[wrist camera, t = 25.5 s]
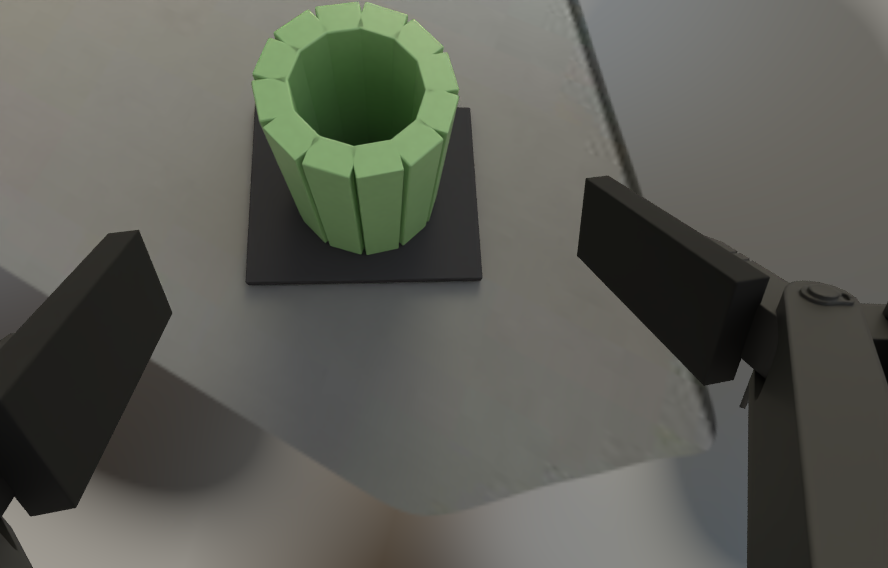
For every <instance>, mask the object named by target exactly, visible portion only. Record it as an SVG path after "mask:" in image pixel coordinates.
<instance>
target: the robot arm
mask: <svg viewBox="0 0 888 568" xmlns="http://www.w3.org/2000/svg"><path fill="white" fill-rule="evenodd" d="M577 256H578V257H579V258H580V259H581V260H582V261H583V262H584V263H585V264H586V265H587V266H588V267H589V268H590V269H591V270H592V271H593V272H594V273H595V275H596V276H597V277H598V278H599V279H600V280H601V281H602V282H603V283H604V284H605V285H606V286H607V287H608V288H609V289H610V290H611V291H612V292H613V293H614V294H615V295H616V296H617V297H618V298H619V299H620V300H621V301H622V302H623V303H624V304H625V305H626V306H627V307H628V308H629V309H630V310H631V311H632V312H633V313H634V314H635V315H636V316H637V318H638V319H639V320H640V321H641V322H642V323H643V324H644V325H645V326H646V327H647V328H648V329H649V330H650V331H651V332H652V333H653V334H654V335H655V336H656V337H657V338H658V339H659V340H660V341H661V342H662V343H663V344H664V345H665V346H666V347H667V348H668V349H669V350H670V351H671V352H672V353H673V354H674V355H675V356H676V357H677V358H678V359H679V361H680V362H681V363H682V364H683V365H684V366H685V367H686V368H687V369H688V370H689V371H690V372H691V373H692V374H693V375H694V376H695V377H696V378H697V379H698V380H699V381H700V382H701V383H702V384H703V385H704V386H705V385H709V384H715V383H720V382H725V381H730V380H734V377H735V375H736V372H737V369H738V366H739V363H740V361H741V358H742V359H743V360H744V361H745V362H746V363H747V364H749V365H750V366H751V367H752V368H753V369H754V370H753V373H752V375H751V378H750V380H749V383H748V386H747V388H746V391H745V394H744V396H743V399H742V402H741V404H740V407H741V408H744V409H745V407H746V405H747V403H749V412H748V413H749V414H748V416H749V417H748V528H747V529H748V531H747V568H888V303H887V304H862V303H859V301H858V300H857V299H856V297H854V296H853V295H851V294H850V293H848V292H847V291H845V290H842V289H840V288H837V287H835V286H832V285H828V284H824V283H820V282H813V281H796V282H791V283H788V282H787V281H785V280H784V279H782V278H780V277H779V276H777V275H775V274H774V273H772V272H770V271H769V270H767V269H765V268H764V267H762V266H761V265H759V264H757V263H756V262H754V261H750V260H749V258H748V257H746V256H744V255H743V254H741V253H737V251H736V250H734V249H732V248H731V247H730V246H728V245H726V244H725V243H723V242H721V241H718V240H715V239H713V238H710V237H707V236H704V235H702V234H701V233H699V232H697V231H696V230H694V229H693V228H691V227H689V226H688V225H686V224H684V223H683V222H681V221H680V220H678V219H677V218H675V217H673V216H672V215H670V214H669V213H667V212H665V211H664V210H662V209H661V208H659V207H657V206H655V205H654V204H653V203H651V202H649V201H648V200H646V199H645V198H643V197H641V196H640V195H638V194H637V193H635V192H633V191H632V190H630V189H629V188H627V187H626V186H624V185H622V184H621V183H619V182H618V181H616V180H614V179H613V178H611V177H610V176H602V177H593V178H586V181H585V190H584V199H583V208H582V217H581V225H580V234H579V243H578V252H577ZM171 315H172V311H171V308H170V306H169V303H168V301H167V298H166V296H165V293H164V291H163V288H162V286H161V284H160V281H159V279H158V276H157V274H156V271H155V269H154V266H153V264H152V261H151V259H150V256H149V254H148V251H147V249H146V247H145V244H144V242H143V239H142V237H141V234H140V232H139V230H134V231H126V232H117V233H108V234H107V236H106V237H105V238H104V239H103V240H102V241H101V242H100V243H99V244H98V245H97V246H96V247H95V248H94V249H93V250H92V252H91V253H90V254H89V255H88V256H87V257H86V258H85V259H84V260H83V261H82V262H81V263H80V264H79V265H78V266H77V268H76V269H75V270H74V271H73V272H72V273H71V274H70V275H69V276H68V277H67V278H66V279H65V280H64V281H63V282H62V284H61V285H60V286H59V287H58V288H57V289H56V290H55V291H54V292H53V293H52V294H51V295H50V296H49V297H48V298H47V300H46V301H45V302H44V303H43V304H42V305H41V306H40V307H39V308H38V309H37V310H36V311H35V312H34V313H33V314H32V316H31V317H30V318H29V319H28V320H27V321H26V322H25V323H24V324H23V325H22V327H20V328H19V329H18V330H17V332H16V333H12V334H9V335H8V336H6V337H5V338H3V339H1V340H0V568H33V567H32V565H31V563H30V561H29V559H28V558H27V556H26V554H25V552H24V550H23V548H22V546H21V544H20V542H19V541H18V539H17V537H16V535H15V533H14V531H13V529H12V528H11V526H10V525H9V524H8V523H7V522H6V520H5V519H4V518H3V517H2V515H3V513H4V512H5V510H6V509H7V507H8V505H9V504H10V502H11V501H12V499H13V497H15V498H16V499H17V500H18V501H19V503H20V504H21V505H22V507H24V509H25V510H26V511H27V513H28V514H29V515H30V516H36V515H41V514H46V513H52V512H57V511H62V510H67V509H72V508H76V507H77V505H78V503H79V501H80V499H81V497H82V495H83V493H84V491H85V489H86V486H87V484H88V483H89V481H90V479H91V477H92V474H93V473H94V470H95V468H96V466H97V464H98V462H99V460H100V458H101V456H102V454H103V452H104V450H105V448H106V446H107V444H108V442H109V440H110V438H111V436H112V434H113V432H114V430H115V428H116V426H117V424H118V422H119V420H120V418H121V416H122V414H123V412H124V410H125V408H126V406H127V404H128V402H129V400H130V398H131V396H132V393H133V392H134V389H135V388H136V386H137V383H138V382H139V380H140V378H141V376H142V373H143V371H144V369H145V367H146V365H147V363H148V361H149V359H150V357H151V355H152V353H153V351H154V349H155V347H156V345H157V343H158V341H159V339H160V337H161V335H162V333H163V331H164V329H165V327H166V325H167V323H168V321H169V319H170V317H171Z"/></svg>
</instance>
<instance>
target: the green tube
mask: <svg viewBox="0 0 888 568" xmlns="http://www.w3.org/2000/svg"><path fill="white" fill-rule="evenodd" d="M315 12H316V16H315V15H314V14H313V13H312V12H311V11H310V10H306V11H305V12H303V13H302V14H300V15H299V16H297V17H296V18H294V19H293V20H291V21H290V22H288V23H287V24H285V25H284V26H282V27H281V28H279V29H278V30H276V31H275V32H274V36H275V39H272V38H269V39H268V40H267V43H266V45H265V47H264V49H263V51H262V54H261V56H260V58H259V60H258V62H257V65H256V67H255V69H254V71H253V77H254V81H252V83H251V84H252V89H253V94H254V99H255V104H256V109H257V114H258V119H259V122H260V125H261V127H262V129H263V131H264V134H265V136H266V138H267V140H268V143H269V145H270V147H271V149H272V152H273V154H274V156H275V158H276V161H277V163H278V165H279V167H280V170H281V172H282V174H283V176H284V179H285V181H286V183H287V186H288V188H289V190H290V192H291V195H292V197H293V199H294V201H295V204H296V206H297V208H298V210H299V213H300V215H301V216H302V218H303V221H304V222H305V223H306V224H307V225H308V226H309V227H310V228H311V229H312V230H313V231H314V232H315V233H316V234H317V235H318V236H319V237H320V238H321V239H322V240H323V241H324V242H325V243H326V242H327V241H329V244H330V246H333V247H336V248H340V249H343V250H346V251H350V252H353V253H357V254H362V252H363V249H364V247H365V251H366V255H370V254H375V253H379V252H384V251H389V250H393V249H398V248H399V242H400V243H401V244H402V245H405V244H406V243H407V242H408V241H409V240H410V239H412V238H413V237H414V236H415V235H416V234H417V233H418V232H419V231H421V230H422V229H423V228H424V227H425V226H426V222H427V221H429V219H430V216H431V213H432V209H433V206H434V203H435V199H436V196H437V192H438V188H439V183H440V179H441V174H442V170H443V166H444V161H445V157H446V153H447V148H448V144H449V139H450V135H451V131H452V126H453V122H454V118H455V113H456V109H457V104H458V100H459V96H458V92H459V88H458V84H457V81H456V78H455V75H454V72H453V68H452V65H451V62H450V59H449V55H448V53H447V52H446V53H443V49H444V47H443V46H442V45H441V44H440V43H439V42H438V41H437V40H436V39H435V38H434V37H433V36H432V35H431V34H430V33H429V32H427V31H426V30H425V29H424V28H423V27H422V26H421V25H420V24H419V23H418V22H417V21H416V20H415V19H412V20H411V21H410V22H408V23H407V20H408V15H406V14H403V13H400V12H397V11H394V10H390V9H387V8H384V7H381V6H378V5H374V4H371V3H368V2H365V5H364V7H363V10H362V11H361V8H360V4H359V2H351V3H343V4H334V5H326V6H318V7H316V8H315Z"/></svg>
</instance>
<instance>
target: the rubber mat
mask: <svg viewBox="0 0 888 568" xmlns="http://www.w3.org/2000/svg"><path fill="white" fill-rule="evenodd" d="M481 279H482V266H481V252H480V239H479V225H478V211H477V198H476V184H475V170H474V157H473V143H472V130H471V116H470V108H458V107H457V109H456V113H455V118H454V122H453V126H452V131H451V135H450V139H449V144H448V148H447V153H446V157H445V161H444V166H443V170H442V174H441V179H440V183H439V188H438V192H437V196H436V199H435V203H434V206H433V209H432V213H431V216H430V219H429V221H427V222H426V226H425V227H424V228H423V229H422V230H421V231H419V232H418V233H417V234H416V235H415V236H414V237H413V238H412V239H410V240H409V241H408V242H407V243H406V244H405V245H402V244H401V243H400V242H399V248H398V249H393V250H389V251H384V252H379V253H375V254H370V255H366V251H365V247H364V249H363V252H362V254H357V253H353V252H350V251H346V250H343V249H340V248H336V247H333V246H330V244H329V241H327V242H326V243H325V242H324V241H323V240H322V239H321V238H320V237H319V236H318V235H317V234H316V233H315V232H314V231H313V230H312V229H311V228H310V227H309V226H308V225H307V224H306V223H305V222H304V221H303V218H302V216H301V215H300V213H299V210H298V208H297V206H296V204H295V201H294V199H293V197H292V195H291V192H290V190H289V188H288V186H287V183H286V181H285V179H284V176H283V174H282V172H281V170H280V167H279V165H278V163H277V161H276V158H275V156H274V154H273V152H272V149H271V147H270V145H269V143H268V140H267V138H266V136H265V134H264V131H263V129H262V127H261V125H260V122H259V119H258V114H257V109H256V104H255V117H254V136H253V154H252V173H251V192H250V210H249V229H248V247H247V266H246V283H247V284H248V285H277V284H327V283H377V282H427V281H477V280H481Z"/></svg>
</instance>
